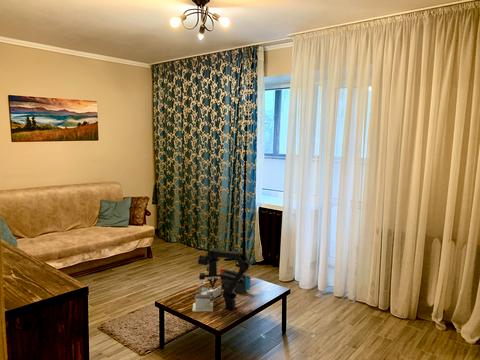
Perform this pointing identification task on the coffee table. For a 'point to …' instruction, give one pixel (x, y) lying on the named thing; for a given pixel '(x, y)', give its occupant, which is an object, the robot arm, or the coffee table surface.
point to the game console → (242, 284)
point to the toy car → (209, 291)
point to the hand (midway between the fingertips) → (212, 287)
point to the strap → (202, 296)
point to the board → (202, 309)
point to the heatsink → (203, 303)
